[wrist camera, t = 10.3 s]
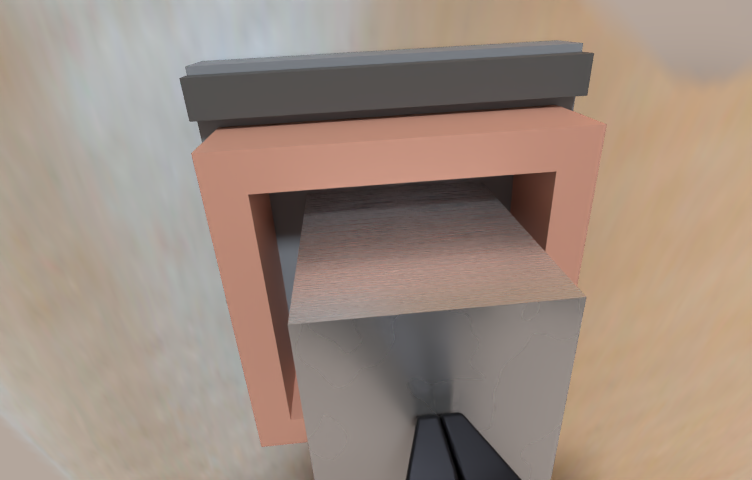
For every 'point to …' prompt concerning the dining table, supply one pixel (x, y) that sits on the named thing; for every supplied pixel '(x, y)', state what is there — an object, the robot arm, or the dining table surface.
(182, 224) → the dining table surface
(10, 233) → the dining table surface
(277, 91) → the frame
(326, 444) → the block
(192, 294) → the dining table surface
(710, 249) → the dining table surface
